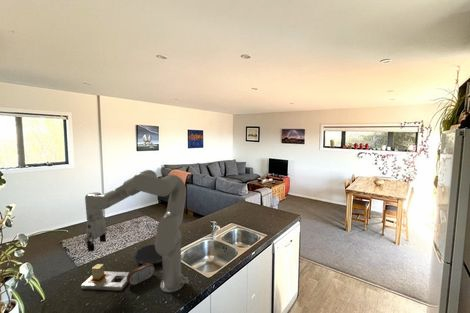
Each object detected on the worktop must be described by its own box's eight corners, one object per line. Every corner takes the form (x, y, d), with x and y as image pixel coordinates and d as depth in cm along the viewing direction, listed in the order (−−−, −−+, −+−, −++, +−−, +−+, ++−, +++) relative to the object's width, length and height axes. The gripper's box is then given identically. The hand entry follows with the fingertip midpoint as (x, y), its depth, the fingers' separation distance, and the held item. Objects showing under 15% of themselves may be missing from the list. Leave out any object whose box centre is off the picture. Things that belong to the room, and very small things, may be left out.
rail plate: (133, 275, 128) (133, 271, 128) (121, 290, 116) (121, 286, 116) (96, 274, 129) (96, 270, 129) (81, 288, 117) (81, 284, 117)
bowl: (160, 246, 160) (160, 240, 160) (176, 260, 145) (176, 253, 144) (128, 258, 145) (128, 251, 144) (142, 275, 130) (142, 267, 129)
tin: (153, 273, 130) (153, 260, 129) (156, 276, 128) (155, 262, 127) (126, 286, 120) (126, 271, 119) (128, 289, 117) (128, 274, 116)
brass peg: (104, 279, 125) (103, 264, 124) (99, 284, 121) (98, 268, 120) (98, 279, 125) (97, 264, 124) (92, 283, 121) (91, 268, 120)
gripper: (90, 222, 111) (93, 255, 112) (111, 210, 128) (113, 238, 130) (76, 222, 111) (78, 254, 113) (98, 210, 128) (100, 238, 130)
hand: (97, 246), depth 121 cm, fingers open, 9 cm apart
